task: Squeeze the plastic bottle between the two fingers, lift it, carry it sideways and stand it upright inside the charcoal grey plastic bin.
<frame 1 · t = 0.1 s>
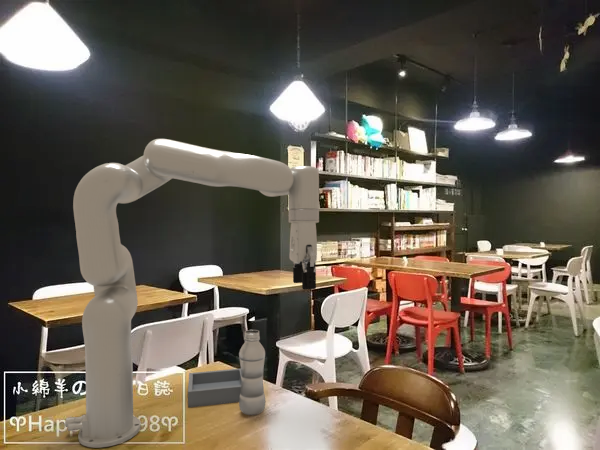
hand: (304, 285, 102), 31 cm above the table, tool pointing down, fingers open, 9 cm apart
plastic bottle: (252, 413, 101), on the table
grey bin: (217, 393, 112), on the table
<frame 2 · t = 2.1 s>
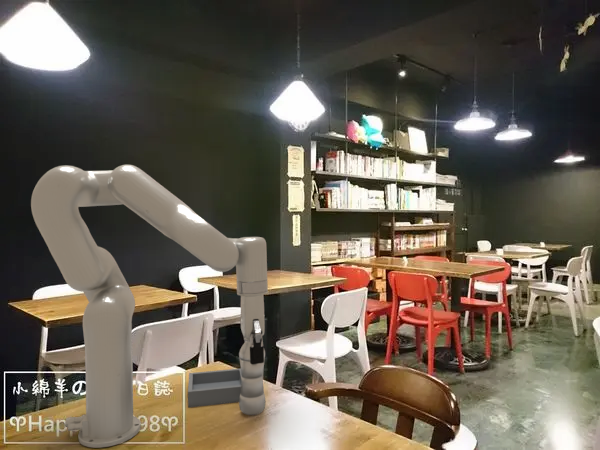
hand: (254, 356, 101), 14 cm above the table, tool pointing down, fingers open, 9 cm apart
nothing on the table moved.
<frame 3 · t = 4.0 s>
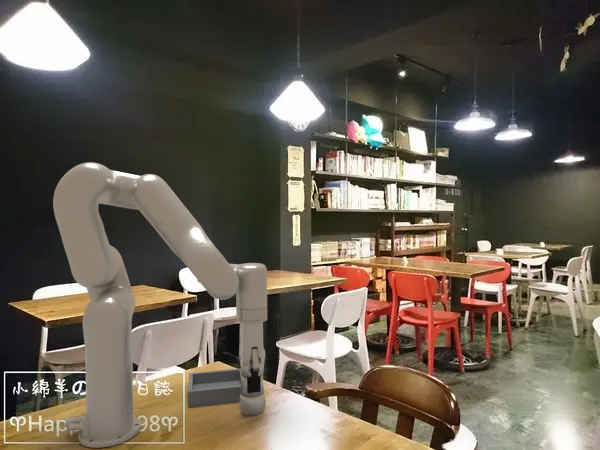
hand: (252, 386, 101), 7 cm above the table, tool pointing down, fingers closed on plastic bottle, 5 cm apart
plastic bottle: (252, 413, 101), on the table, touching gripper
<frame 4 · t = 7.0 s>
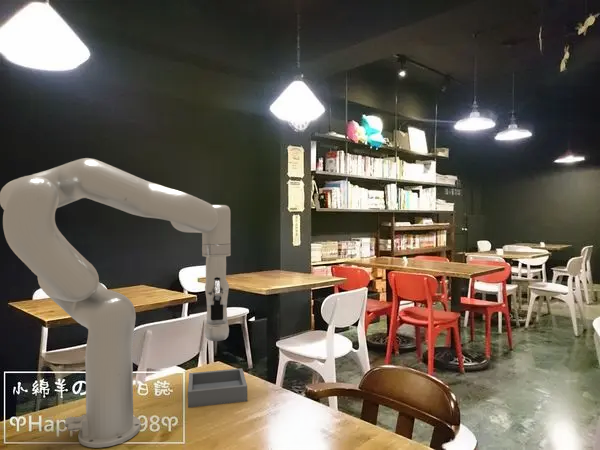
hand: (216, 316, 111), 21 cm above the table, tool pointing down, fingers closed on plastic bottle, 5 cm apart
plastic bottle: (216, 341, 111), point 15 cm above the table, touching gripper
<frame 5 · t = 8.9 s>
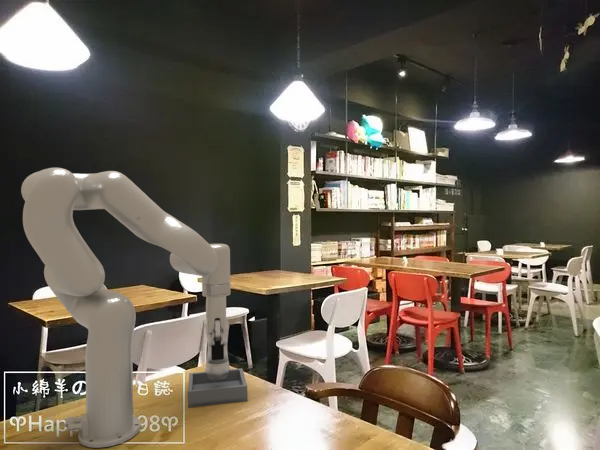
hand: (217, 354, 112), 11 cm above the table, tool pointing down, fingers closed on plastic bottle, 5 cm apart
plastic bottle: (217, 379, 112), point 4 cm above the table, touching gripper
when the fingers open (9 cm above the table, at t = 10.2 s): plastic bottle drops 1 cm, resting on grey bin.
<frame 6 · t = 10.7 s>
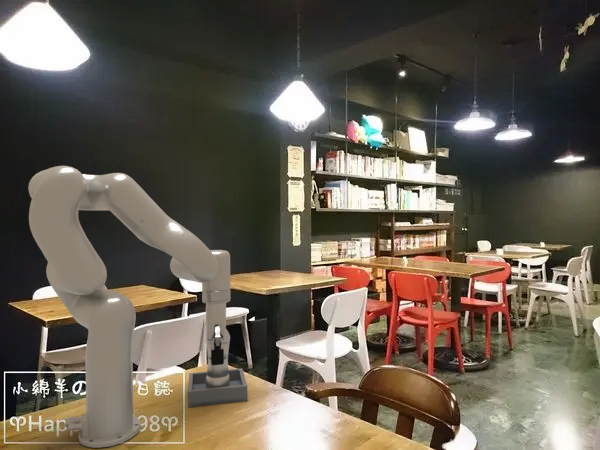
hand: (216, 358, 112), 10 cm above the table, tool pointing down, fingers open, 9 cm apart
plastic bottle: (217, 392, 110), point 1 cm above the table, touching grey bin, gripper
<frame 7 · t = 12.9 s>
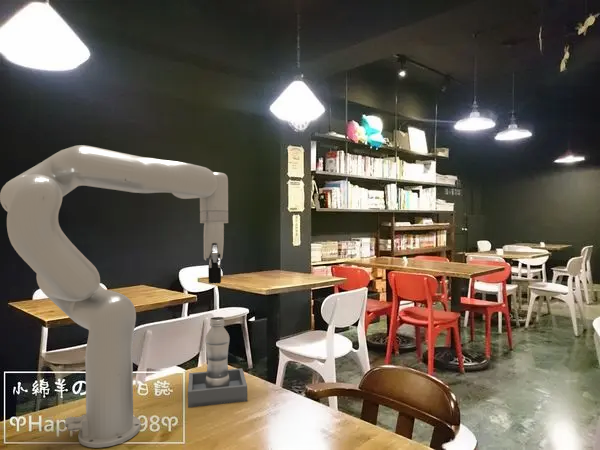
hand: (214, 280, 112), 31 cm above the table, tool pointing down, fingers open, 9 cm apart
plastic bottle: (217, 393, 110), point 1 cm above the table, touching grey bin
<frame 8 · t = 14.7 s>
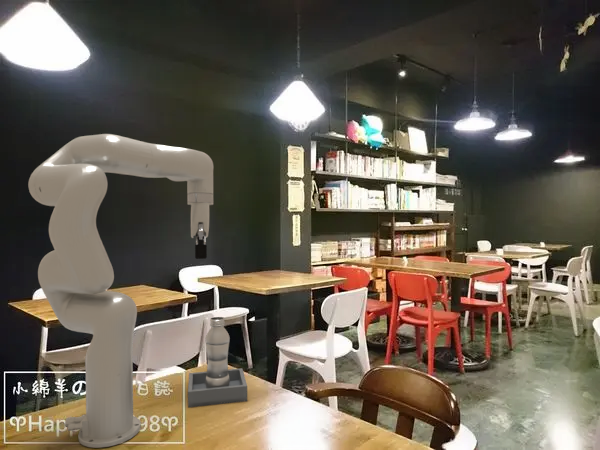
hand: (200, 257, 123), 36 cm above the table, tool pointing down, fingers open, 9 cm apart
nothing on the table moved.
at the end: plastic bottle inside the target area on the grey bin (1.5 cm from its centre), point 0.8 cm above the grey bin's base; plastic bottle tilted 0°; the gripper is holding nothing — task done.
